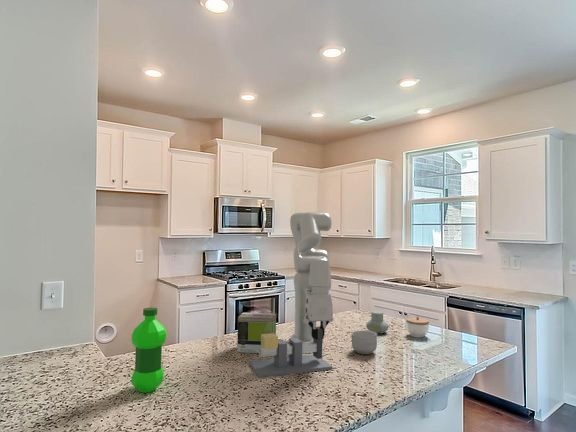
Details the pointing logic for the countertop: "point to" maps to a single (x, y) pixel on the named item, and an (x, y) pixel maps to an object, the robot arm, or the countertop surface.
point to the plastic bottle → (148, 352)
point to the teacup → (364, 341)
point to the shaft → (306, 347)
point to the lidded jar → (417, 326)
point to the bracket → (288, 361)
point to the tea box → (254, 330)
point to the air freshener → (377, 323)
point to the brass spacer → (269, 341)
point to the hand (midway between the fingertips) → (317, 338)
